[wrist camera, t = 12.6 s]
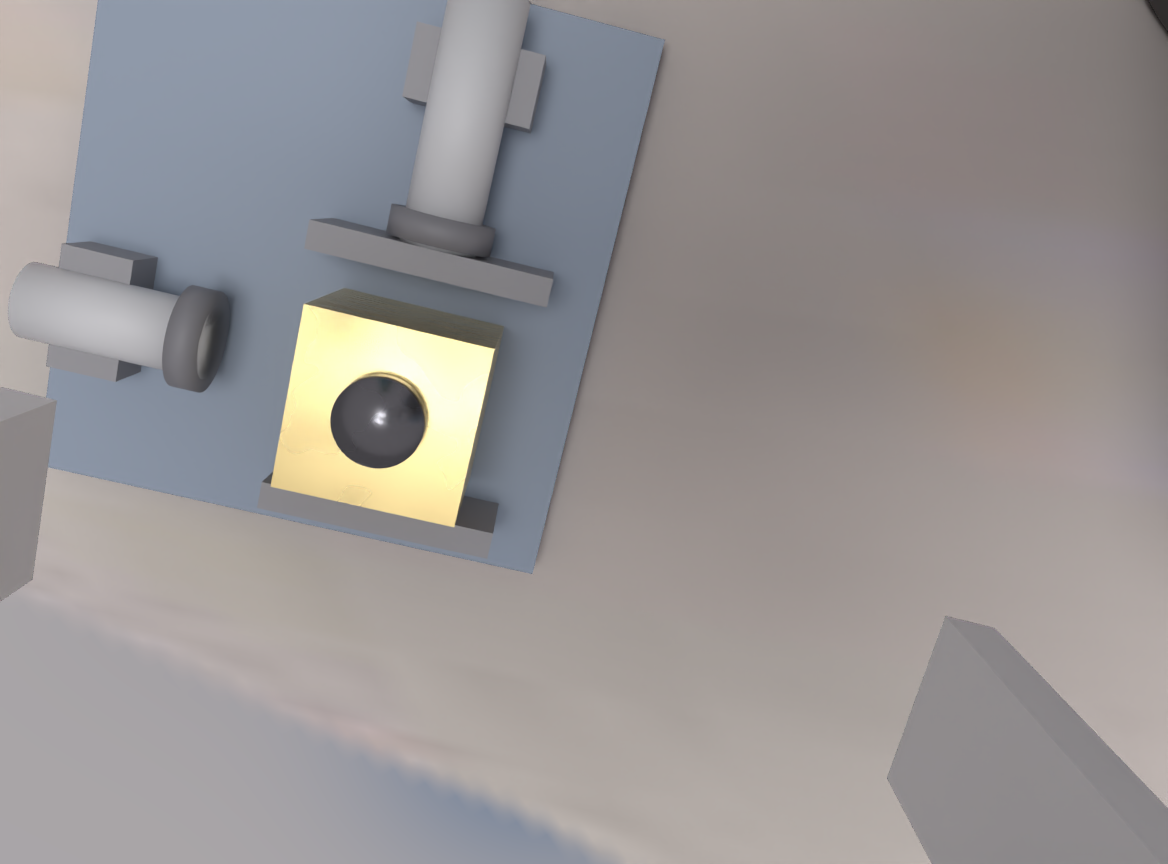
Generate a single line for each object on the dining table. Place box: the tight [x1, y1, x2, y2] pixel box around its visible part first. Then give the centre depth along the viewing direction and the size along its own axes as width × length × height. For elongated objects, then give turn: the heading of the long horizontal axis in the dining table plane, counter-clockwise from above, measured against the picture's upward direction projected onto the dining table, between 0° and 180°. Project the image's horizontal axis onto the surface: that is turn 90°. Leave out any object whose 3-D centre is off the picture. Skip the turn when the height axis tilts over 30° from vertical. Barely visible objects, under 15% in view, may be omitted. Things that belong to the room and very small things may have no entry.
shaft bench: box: [8, 0, 665, 574], centre depth 29 cm, size 17×16×4 cm
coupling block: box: [271, 288, 504, 527], centre depth 28 cm, size 5×5×6 cm
